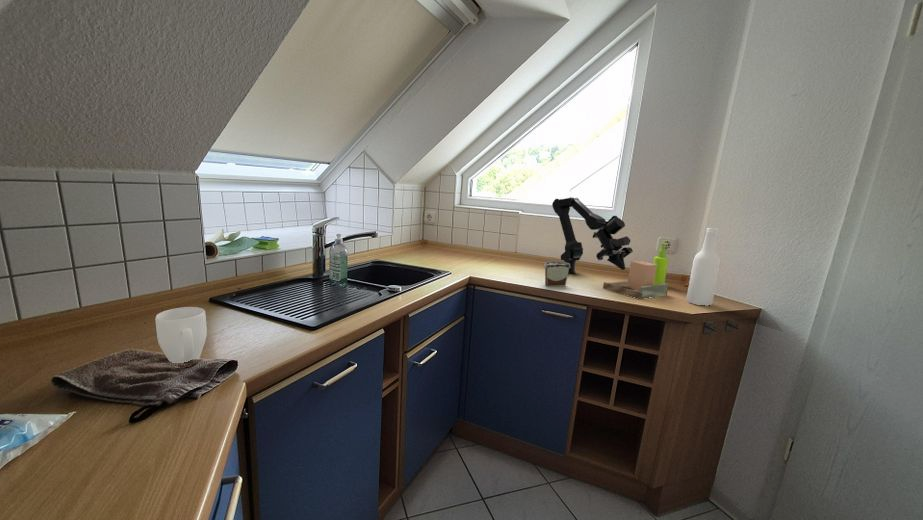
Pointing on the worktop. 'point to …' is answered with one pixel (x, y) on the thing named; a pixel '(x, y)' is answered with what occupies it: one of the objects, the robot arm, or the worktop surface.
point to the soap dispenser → (661, 265)
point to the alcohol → (704, 271)
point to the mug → (181, 333)
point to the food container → (556, 273)
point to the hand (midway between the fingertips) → (624, 269)
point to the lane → (640, 294)
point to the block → (641, 274)
